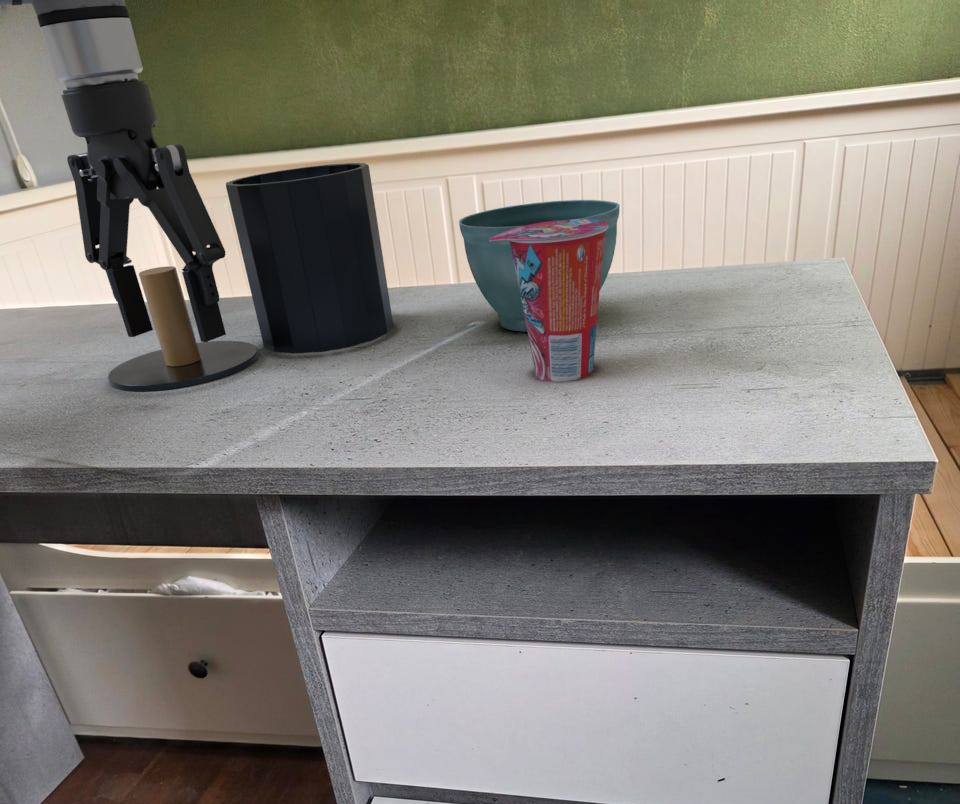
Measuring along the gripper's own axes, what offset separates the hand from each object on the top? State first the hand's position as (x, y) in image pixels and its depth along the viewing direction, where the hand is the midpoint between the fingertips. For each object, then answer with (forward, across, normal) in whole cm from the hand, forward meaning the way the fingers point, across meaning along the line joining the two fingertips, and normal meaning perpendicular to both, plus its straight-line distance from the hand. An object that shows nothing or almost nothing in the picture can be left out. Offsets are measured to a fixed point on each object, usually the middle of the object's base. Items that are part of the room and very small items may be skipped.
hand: (176, 335), depth 90 cm
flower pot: (+4, -30, -24) cm, 39 cm away
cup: (+4, -40, -8) cm, 41 cm away
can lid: (+3, 0, 0) cm, 3 cm away
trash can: (+4, -8, -14) cm, 17 cm away
